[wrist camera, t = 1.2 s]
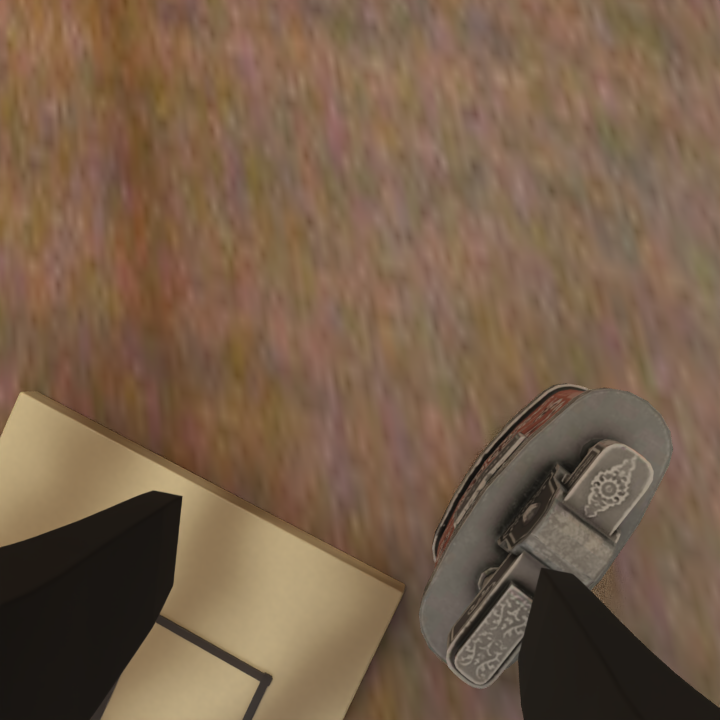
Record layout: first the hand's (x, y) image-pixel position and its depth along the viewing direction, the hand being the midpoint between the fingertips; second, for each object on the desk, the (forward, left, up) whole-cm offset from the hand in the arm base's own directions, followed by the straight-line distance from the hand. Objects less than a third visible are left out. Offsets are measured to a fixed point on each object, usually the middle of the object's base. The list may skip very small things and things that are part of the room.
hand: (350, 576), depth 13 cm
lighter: (-4, -2, -11) cm, 12 cm away
